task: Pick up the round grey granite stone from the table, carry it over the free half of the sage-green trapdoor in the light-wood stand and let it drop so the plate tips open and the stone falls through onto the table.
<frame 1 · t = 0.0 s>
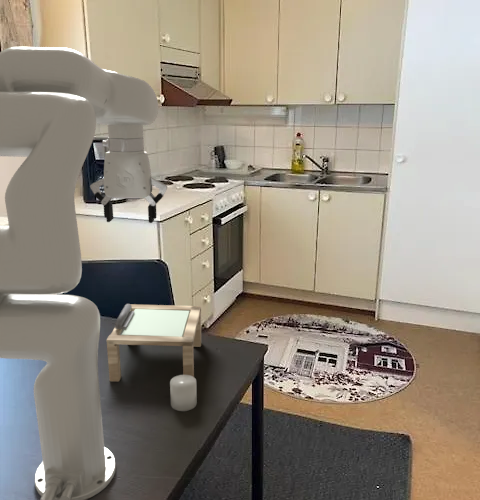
hand: (130, 221, 115), 31 cm above the table, tool pointing down, fingers open, 9 cm apart
trapdoor frame: (158, 360, 116), on the table
trapdoor: (152, 319, 113), point 11 cm above the table, hinge at -0.6°
stone: (183, 403, 101), on the table
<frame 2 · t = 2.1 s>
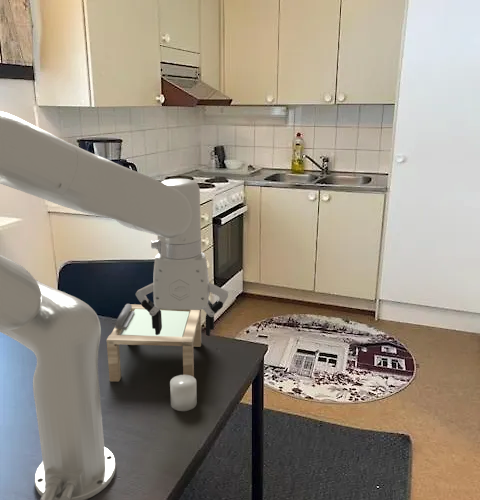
hand: (183, 331, 96), 16 cm above the table, tool pointing down, fingers open, 9 cm apart
trapdoor: (152, 319, 113), point 10 cm above the table, hinge at -1.5°
everything else where it was.
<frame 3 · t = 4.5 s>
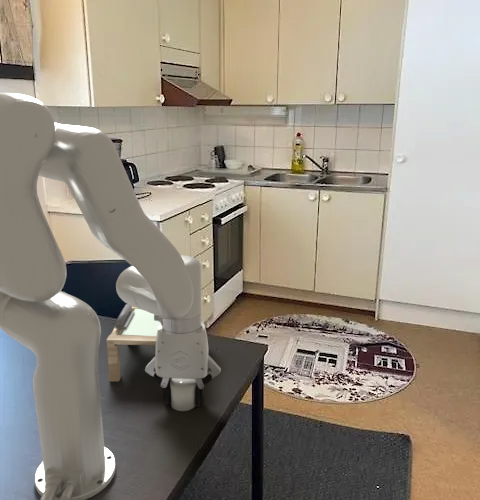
hand: (183, 400, 100), 0 cm above the table, tool pointing down, fingers closed on stone, 5 cm apart
stone: (183, 403, 101), on the table, touching gripper
everything else where it was.
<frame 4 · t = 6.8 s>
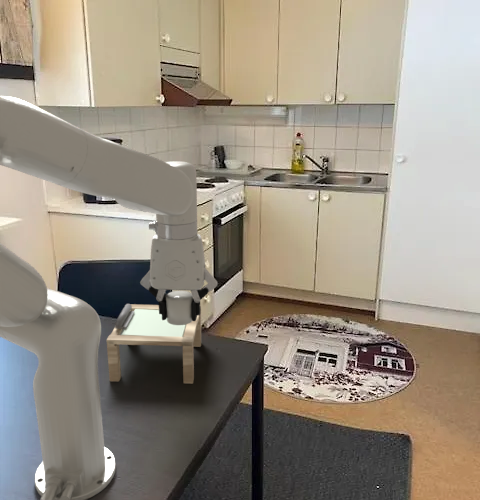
hand: (180, 316, 98), 17 cm above the table, tool pointing down, fingers closed on stone, 5 cm apart
stone: (180, 319, 99), point 17 cm above the table, touching gripper
everything else where it was.
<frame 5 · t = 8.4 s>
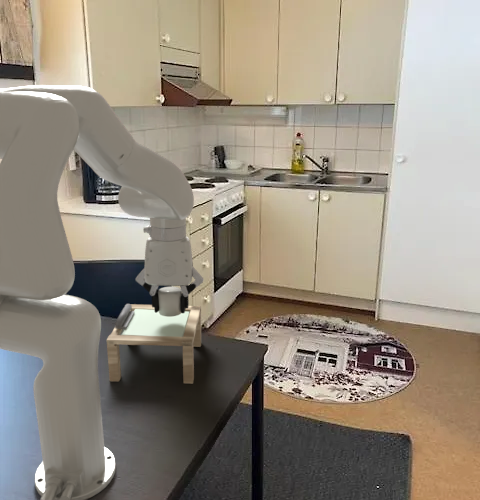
hand: (170, 309, 112), 13 cm above the table, tool pointing down, fingers closed on stone, 5 cm apart
stone: (170, 311, 112), point 13 cm above the table, touching gripper
everything else where it was.
when the fingers open (13 cm above the table, at t = 9.1 s): stone drops 10 cm and tips over, point 3 cm above the table.
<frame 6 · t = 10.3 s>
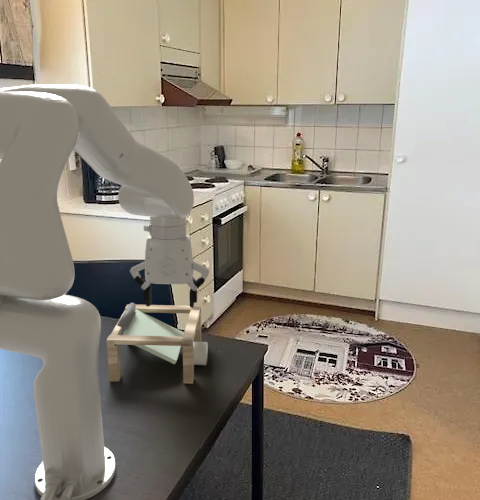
hand: (170, 304, 111), 14 cm above the table, tool pointing down, fingers open, 9 cm apart
trapdoor: (152, 329, 114), point 8 cm above the table, hinge at -27.5°
stone: (184, 352, 115), point 3 cm above the table, tilted 90°
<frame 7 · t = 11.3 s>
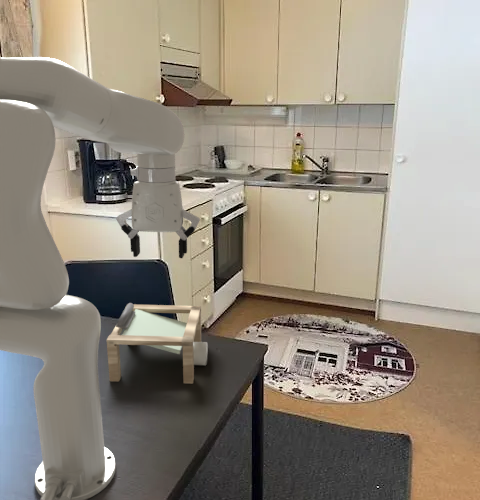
hand: (159, 255, 106), 26 cm above the table, tool pointing down, fingers open, 9 cm apart
trapdoor: (153, 325, 113), point 9 cm above the table, hinge at -15.5°
everything else where it was.
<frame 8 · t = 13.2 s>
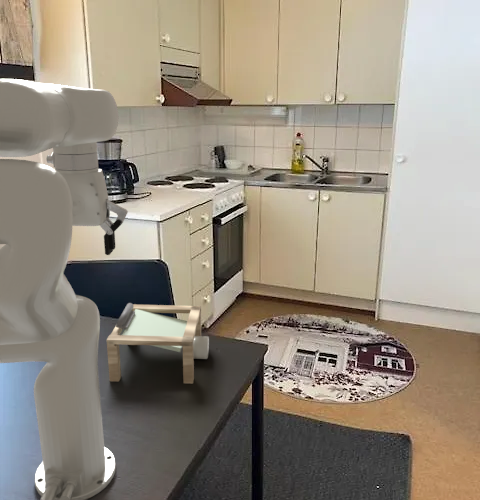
hand: (84, 252, 95), 30 cm above the table, tool pointing down, fingers open, 9 cm apart
trapdoor: (153, 324, 113), point 9 cm above the table, hinge at -13.0°
stone: (186, 346, 117), point 3 cm above the table, tilted 90°
at the end: stone point 2.5 cm above the table; stone inside the target area on the trapdoor frame (5.4 cm from its centre), point 2.5 cm above the trapdoor frame's base; the gripper is holding nothing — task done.
